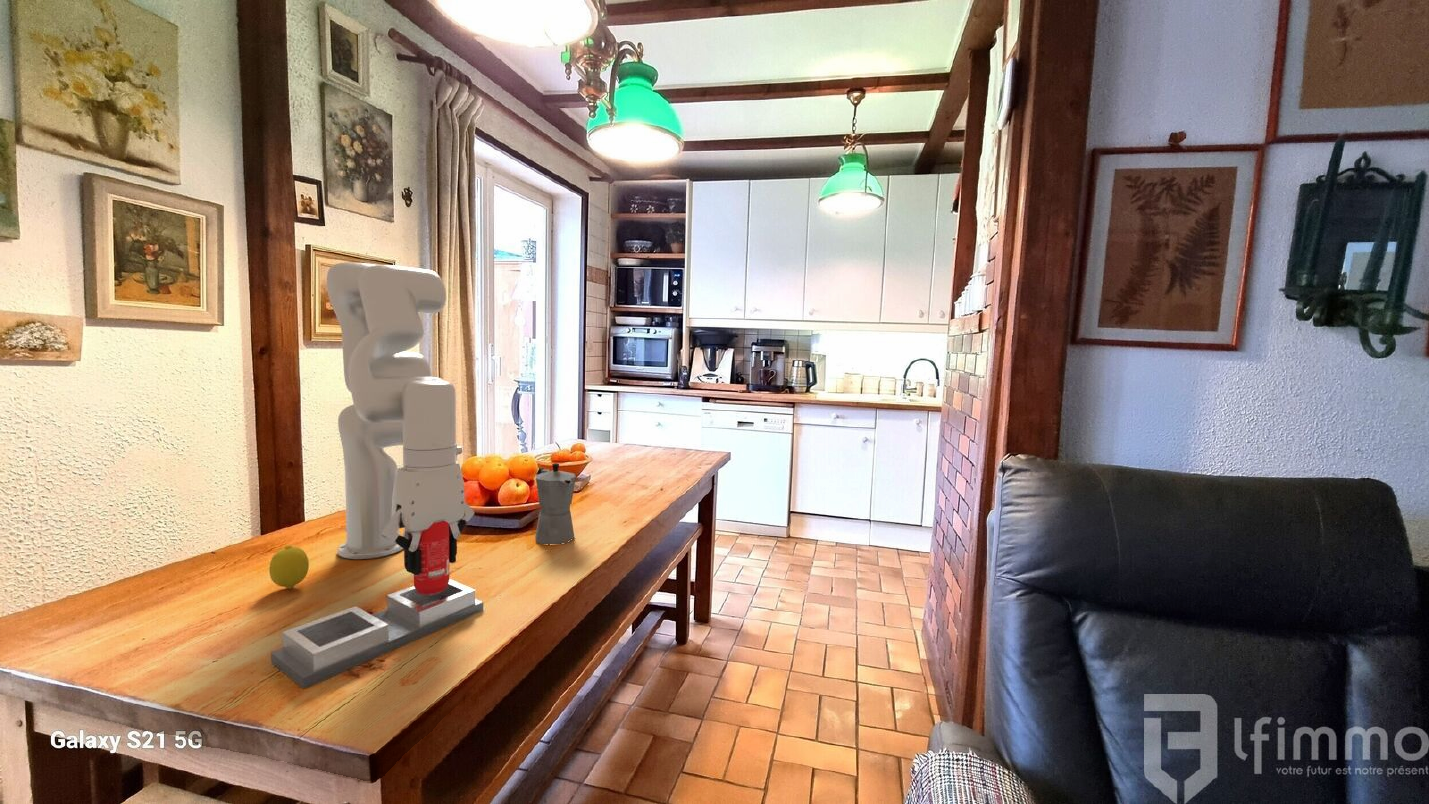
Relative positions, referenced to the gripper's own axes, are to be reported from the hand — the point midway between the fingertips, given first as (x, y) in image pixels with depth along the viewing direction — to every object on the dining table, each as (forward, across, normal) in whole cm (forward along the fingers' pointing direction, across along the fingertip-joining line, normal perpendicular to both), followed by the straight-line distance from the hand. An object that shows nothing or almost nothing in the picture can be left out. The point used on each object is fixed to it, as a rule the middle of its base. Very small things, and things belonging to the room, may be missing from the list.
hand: (431, 565), depth 88 cm
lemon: (+9, +9, -29) cm, 32 cm away
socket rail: (+9, +7, 0) cm, 11 cm away
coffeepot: (+9, -37, -13) cm, 40 cm away
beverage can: (+4, 0, 0) cm, 4 cm away
